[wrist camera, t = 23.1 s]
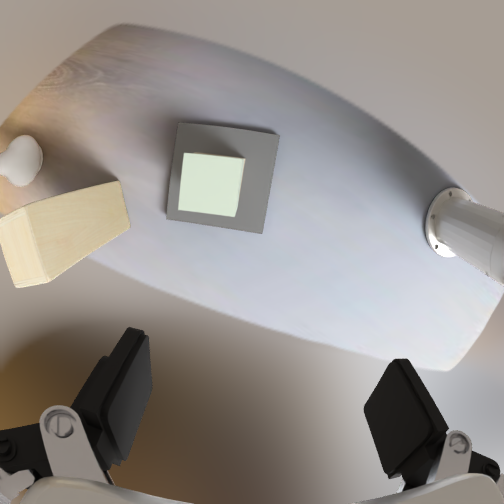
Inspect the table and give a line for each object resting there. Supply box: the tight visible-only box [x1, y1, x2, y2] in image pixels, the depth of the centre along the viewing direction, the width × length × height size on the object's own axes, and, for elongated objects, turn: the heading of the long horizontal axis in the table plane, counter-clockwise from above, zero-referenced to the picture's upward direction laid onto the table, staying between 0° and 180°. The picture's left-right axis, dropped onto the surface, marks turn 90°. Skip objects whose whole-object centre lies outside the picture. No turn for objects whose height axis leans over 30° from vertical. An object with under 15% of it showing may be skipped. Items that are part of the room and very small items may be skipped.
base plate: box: [166, 122, 280, 234], centre depth 38 cm, size 14×14×2 cm
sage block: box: [178, 153, 244, 217], centre depth 30 cm, size 6×6×5 cm
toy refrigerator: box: [0, 181, 130, 288], centre depth 30 cm, size 8×7×21 cm
